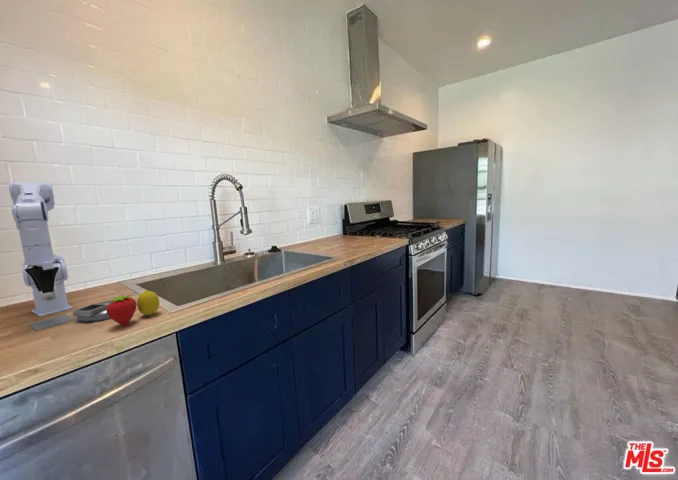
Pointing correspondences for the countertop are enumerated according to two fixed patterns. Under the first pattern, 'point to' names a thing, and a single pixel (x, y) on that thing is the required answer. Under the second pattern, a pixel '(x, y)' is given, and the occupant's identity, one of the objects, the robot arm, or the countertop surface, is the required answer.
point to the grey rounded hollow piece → (92, 312)
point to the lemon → (148, 303)
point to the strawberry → (122, 309)
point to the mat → (51, 322)
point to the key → (50, 294)
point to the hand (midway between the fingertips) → (46, 291)
